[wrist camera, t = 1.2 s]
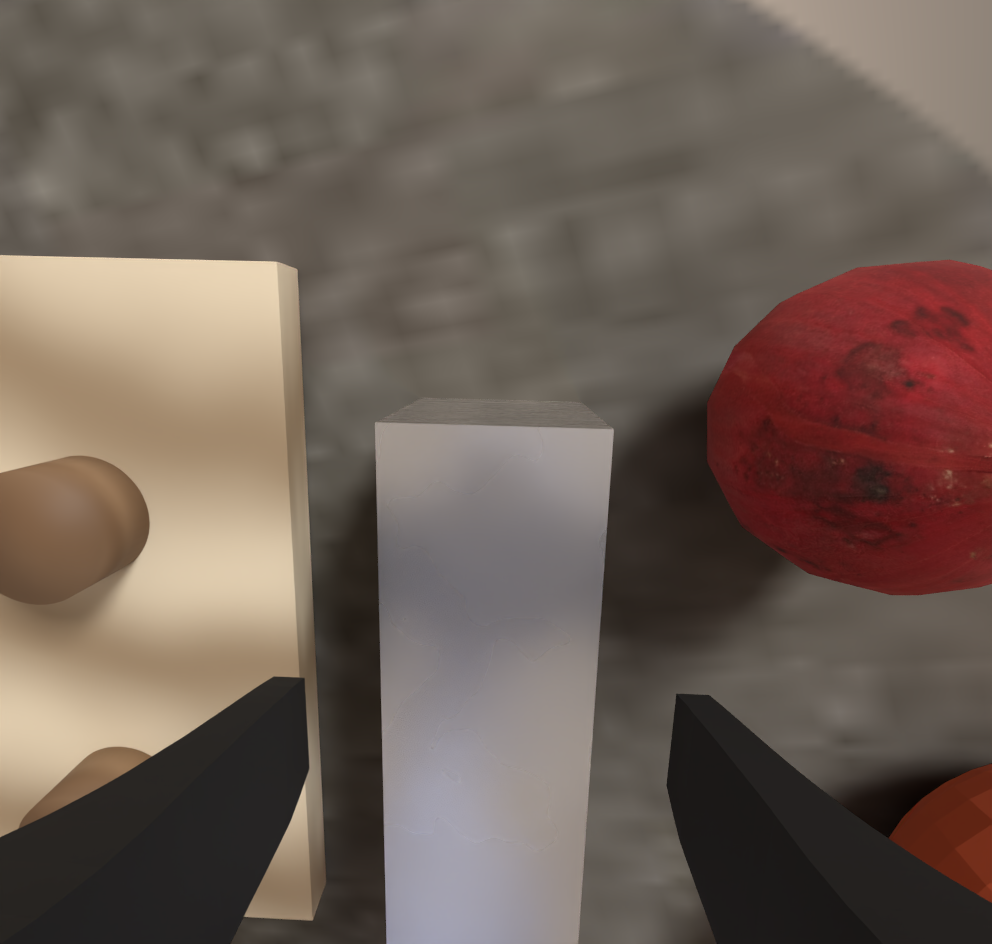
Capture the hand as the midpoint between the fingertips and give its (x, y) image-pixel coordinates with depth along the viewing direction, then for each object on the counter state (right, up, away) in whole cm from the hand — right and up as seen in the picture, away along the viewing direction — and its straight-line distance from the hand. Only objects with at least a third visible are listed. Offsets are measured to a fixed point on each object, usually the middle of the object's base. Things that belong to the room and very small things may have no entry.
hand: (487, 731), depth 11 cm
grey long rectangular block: (0, +1, +5) cm, 5 cm away
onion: (+7, +7, +3) cm, 10 cm away
